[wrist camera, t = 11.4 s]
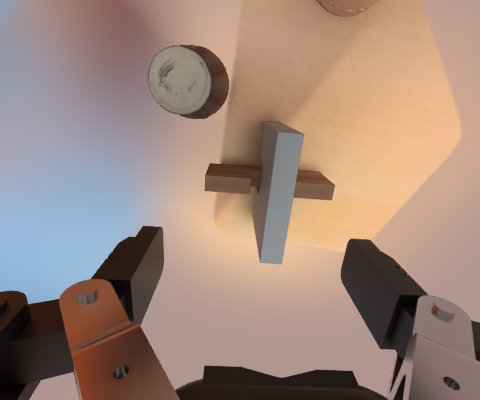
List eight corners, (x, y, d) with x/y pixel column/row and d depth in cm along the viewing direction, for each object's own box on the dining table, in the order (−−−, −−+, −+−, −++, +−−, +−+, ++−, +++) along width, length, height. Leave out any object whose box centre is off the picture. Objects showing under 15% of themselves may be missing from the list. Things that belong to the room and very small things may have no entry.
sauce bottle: (174, 68, 34) (103, 32, 16) (220, 52, 34) (204, -6, 15) (192, 119, 37) (149, 140, 18) (236, 105, 36) (239, 110, 17)
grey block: (263, 121, 37) (278, 131, 25) (281, 123, 37) (303, 134, 25) (252, 215, 42) (259, 262, 30) (267, 216, 42) (281, 264, 30)
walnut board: (209, 163, 39) (205, 175, 33) (319, 172, 40) (334, 185, 33) (209, 176, 39) (204, 190, 33) (316, 185, 40) (331, 200, 34)
